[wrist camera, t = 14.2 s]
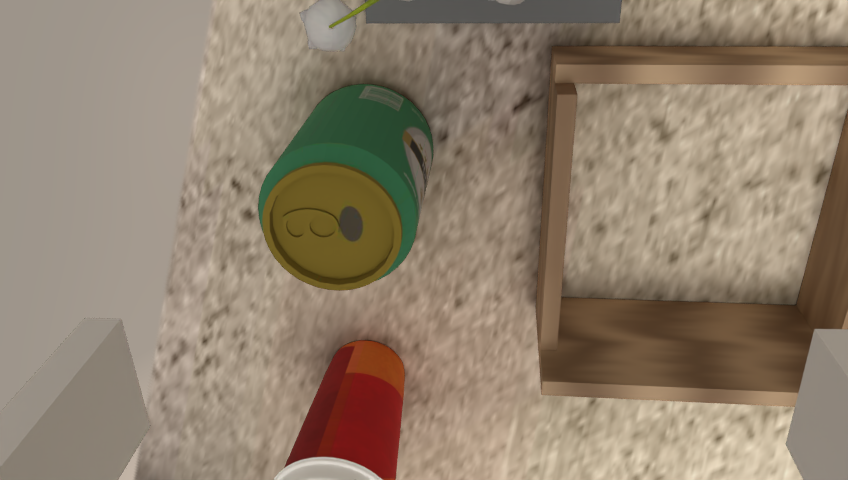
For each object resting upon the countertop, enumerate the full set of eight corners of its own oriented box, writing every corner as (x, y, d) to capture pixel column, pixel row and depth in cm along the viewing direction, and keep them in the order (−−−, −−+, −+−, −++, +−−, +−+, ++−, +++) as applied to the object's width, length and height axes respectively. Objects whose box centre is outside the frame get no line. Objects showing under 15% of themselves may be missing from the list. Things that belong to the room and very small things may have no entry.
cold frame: (535, 308, 50) (541, 394, 42) (551, 46, 42) (562, 92, 34) (808, 318, 48) (867, 410, 41) (883, 46, 40) (976, 95, 32)
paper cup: (335, 415, 57) (288, 572, 44) (303, 336, 53) (243, 482, 41) (432, 402, 55) (411, 561, 43) (405, 320, 52) (375, 467, 39)
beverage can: (437, 199, 47) (418, 301, 37) (316, 200, 48) (264, 299, 37) (431, 77, 43) (408, 151, 33) (300, 80, 44) (236, 154, 34)
